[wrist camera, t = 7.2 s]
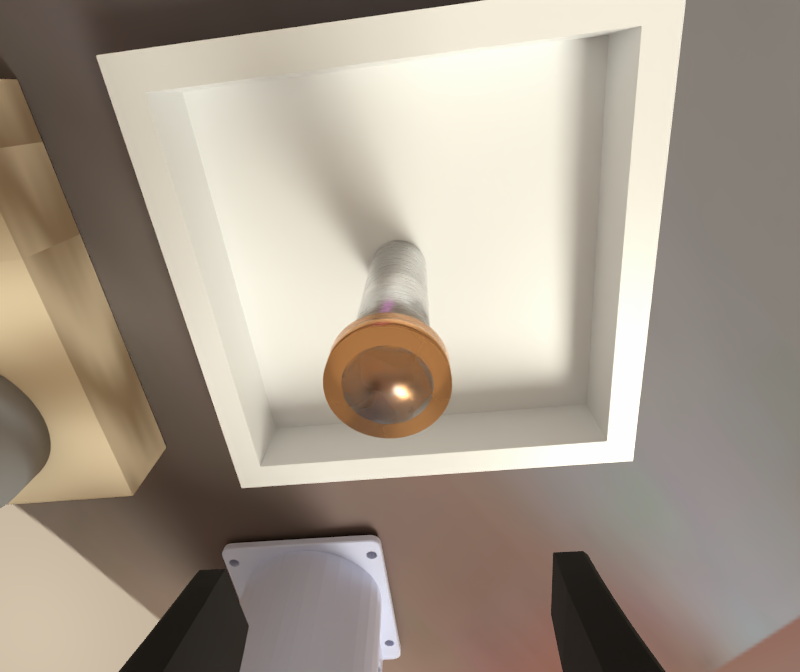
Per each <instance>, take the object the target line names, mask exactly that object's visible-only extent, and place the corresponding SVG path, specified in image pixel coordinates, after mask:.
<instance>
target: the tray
mask: <svg viewBox="0 0 800 672" xmlns="http://www.w3.org/2000/svg"><path fill="white" fill-rule="evenodd" d="M685 2H686V0H483V1H476V2H469V3H462V4H455V5H448V6H441V7H434V8H427V9H420V10H413V11H405V12H398V13H391V14H384V15H377V16H370V17H363V18H356V19H349V20H342V21H335V22H328V23H321V24H314V25H307V26H299V27H292V28H285V29H278V30H271V31H264V32H257V33H250V34H243V35H236V36H229V37H222V38H215V39H208V40H201V41H194V42H186V43H179V44H172V45H165V46H158V47H151V48H144V49H137V50H130V51H123V52H116V53H109V54H102V55H96V57H97V60H98V63H99V66H100V69H101V72H102V75H103V78H104V81H105V84H106V87H107V90H108V93H109V96H110V99H111V102H112V105H113V108H114V111H115V114H116V117H117V120H118V123H119V126H120V129H121V132H122V135H123V138H124V140H125V143H126V146H127V149H128V152H129V155H130V158H131V161H132V164H133V167H134V170H135V173H136V176H137V179H138V182H139V185H140V188H141V191H142V194H143V197H144V200H145V203H146V206H147V209H148V212H149V215H150V218H151V221H152V224H153V227H154V230H155V232H156V235H157V238H158V241H159V244H160V247H161V250H162V253H163V256H164V259H165V262H166V265H167V268H168V271H169V274H170V277H171V280H172V283H173V286H174V289H175V292H176V295H177V298H178V301H179V304H180V307H181V310H182V313H183V316H184V319H185V322H186V325H187V327H188V330H189V333H190V336H191V339H192V342H193V345H194V348H195V351H196V354H197V357H198V360H199V363H200V366H201V369H202V372H203V375H204V378H205V381H206V384H207V387H208V390H209V393H210V396H211V399H212V402H213V405H214V408H215V411H216V414H217V417H218V420H219V422H220V425H221V428H222V431H223V434H224V437H225V440H226V443H227V446H228V449H229V452H230V455H231V458H232V461H233V464H234V467H235V470H236V473H237V476H238V479H239V482H240V485H241V488H251V487H265V486H280V485H294V484H308V483H323V482H337V481H351V480H366V479H380V478H394V477H408V476H423V475H437V474H451V473H466V472H480V471H494V470H509V469H523V468H537V467H552V466H566V465H580V464H595V463H609V462H623V461H633V455H634V446H635V437H636V429H637V420H638V411H639V403H640V394H641V385H642V376H643V368H644V359H645V350H646V342H647V333H648V324H649V315H650V307H651V298H652V289H653V281H654V272H655V263H656V254H657V246H658V237H659V228H660V220H661V211H662V202H663V193H664V185H665V176H666V167H667V159H668V150H669V141H670V133H671V124H672V115H673V106H674V98H675V89H676V80H677V72H678V63H679V54H680V45H681V37H682V28H683V19H684V11H685ZM393 240H403V241H407V242H410V243H412V244H414V245H415V246H416V247H418V248H419V250H420V251H421V252H422V254H423V255H424V258H425V261H426V271H427V287H428V303H429V319H430V327H431V328H432V329H433V330H434V331H435V332H436V333H437V334H438V335H439V337H440V338H441V340H442V341H443V343H444V345H445V347H446V349H447V352H448V355H449V361H450V368H451V376H452V392H451V397H450V400H449V403H448V405H447V407H446V409H445V411H444V412H443V414H442V415H441V416H440V417H439V418H438V420H436V421H435V422H434V423H433V424H432V425H431V426H429V427H428V428H426V429H424V430H422V431H420V432H418V433H416V434H413V435H410V436H406V437H401V438H377V437H372V436H368V435H365V434H362V433H360V432H358V431H356V430H354V429H352V428H350V427H349V426H347V425H346V424H344V423H343V422H342V421H341V420H340V419H339V418H338V417H337V416H336V415H335V414H334V413H333V411H332V410H331V408H330V406H329V405H328V402H327V400H326V398H325V394H324V390H323V374H324V369H325V366H326V363H327V360H328V357H329V354H330V351H331V347H332V345H333V343H334V341H335V339H336V338H337V336H338V335H339V334H340V333H341V332H342V330H343V329H344V328H346V327H347V326H348V325H349V324H351V323H352V322H354V321H356V319H357V315H358V311H359V307H360V303H361V299H362V295H363V291H364V287H365V284H366V280H367V276H368V272H369V268H370V264H371V260H372V257H373V255H374V253H375V251H376V250H377V249H378V248H379V247H380V246H381V245H383V244H384V243H387V242H389V241H393Z"/></svg>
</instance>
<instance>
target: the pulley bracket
mask: <svg viewBox="0 0 800 672" xmlns="http://www.w3.org/2000/svg"><path fill="white" fill-rule="evenodd" d="M165 449H166V445H165V443H164V440H163V438H162V435H161V433H160V430H159V428H158V425H157V423H156V421H155V418H154V416H153V413H152V411H151V408H150V406H149V403H148V401H147V398H146V396H145V393H144V391H143V388H142V386H141V384H140V381H139V379H138V376H137V374H136V371H135V369H134V366H133V364H132V361H131V359H130V356H129V354H128V351H127V349H126V346H125V344H124V342H123V339H122V337H121V334H120V332H119V329H118V327H117V324H116V322H115V319H114V317H113V314H112V312H111V309H110V307H109V305H108V302H107V300H106V297H105V295H104V292H103V290H102V287H101V285H100V282H99V280H98V277H97V275H96V272H95V270H94V268H93V265H92V263H91V260H90V258H89V255H88V253H87V250H86V248H85V245H84V243H83V240H82V238H81V235H80V233H79V231H78V228H77V226H76V223H75V221H74V218H73V216H72V213H71V211H70V208H69V206H68V203H67V201H66V198H65V196H64V193H63V191H62V189H61V186H60V184H59V181H58V179H57V176H56V174H55V171H54V169H53V166H52V164H51V161H50V159H49V156H48V154H47V152H46V149H45V147H44V144H43V142H42V139H41V137H40V134H39V132H38V129H37V127H36V124H35V122H34V119H33V117H32V115H31V112H30V110H29V107H28V105H27V102H26V100H25V97H24V95H23V92H22V90H21V87H20V85H19V82H18V80H17V79H0V508H1V507H3V506H5V505H7V504H22V503H36V502H51V501H65V500H79V499H94V498H108V497H122V496H133V495H134V494H135V492H136V491H137V489H138V488H139V486H140V485H141V483H142V482H143V481H144V479H145V478H146V476H147V475H148V473H149V472H150V471H151V469H152V468H153V466H154V465H155V463H156V462H157V460H158V459H159V458H160V456H161V455H162V453H163V452H164V450H165Z"/></svg>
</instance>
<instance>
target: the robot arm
mask: <svg viewBox="0 0 800 672" xmlns="http://www.w3.org/2000/svg"><path fill="white" fill-rule="evenodd" d="M370 551H372V552H370ZM222 556H223V559H224V562H225V564H226V567H227V569H228V572H229V574H230V577H231V580H232V582H233V585H234V587H235V590H236V592H237V595H238V597H239V600H240V602H239V600H238V598H237V596H236V593H235V591H234V588H233V586H232V583H231V581H230V579H229V576H228V574H227V571H226V569H215V570H199V572H198V573H197V574H196V575H195V576H194V577H193V579H192V580H191V581H190V582H189V584H188V585H187V586H186V588H185V589H184V590H183V591H182V593H181V594H180V595H179V597H178V598H177V599H176V600H175V602H174V603H173V604H172V606H171V607H170V608H169V609H168V611H167V612H166V613H165V615H164V616H163V617H162V618H161V620H160V621H159V622H158V623H157V625H156V626H155V627H154V629H153V630H152V631H151V632H150V634H149V635H148V636H147V637H146V639H145V640H144V641H143V643H142V644H141V645H140V646H139V647H138V649H137V650H136V651H135V652H134V654H133V655H132V656H131V657H130V658H129V660H128V661H127V662H126V664H125V665H124V666H123V667H122V668H121V670H120V671H119V672H382V663H383V659H396V658H398V657H399V656H400V649H401V647H400V642H399V637H398V631H397V626H396V621H395V615H394V610H393V605H392V599H391V594H390V588H389V583H388V578H387V572H386V567H385V562H384V556H383V551H382V546H381V541H380V539H379V538H378V537H377V536H374V535H359V536H343V537H326V538H310V539H294V540H277V541H261V542H245V543H231V544H227V545H226V546H225V547H224V550H223V552H222ZM551 616H552V621H553V626H554V631H555V636H556V641H557V646H558V651H559V655H560V660H561V665H562V669H563V672H665V670H664V669H663V668H662V666H661V665H660V664H659V662H658V661H657V659H656V658H655V657H654V655H653V654H652V653H651V651H650V650H649V648H648V647H647V646H646V644H645V643H644V641H643V640H642V639H641V637H640V636H639V635H638V633H637V632H636V630H635V629H634V627H633V626H632V625H631V623H630V622H629V620H628V619H627V617H626V616H625V614H624V613H623V611H622V610H621V608H620V607H619V605H618V604H617V602H616V601H615V599H614V598H613V596H612V594H611V593H610V591H609V590H608V588H607V587H606V585H605V583H604V582H603V580H602V579H601V577H600V575H599V574H598V572H597V570H596V568H595V567H594V565H593V563H592V562H591V560H590V558H589V556H588V555H587V554H586V553H585V552H583V551H578V552H557V553H553V576H552V604H551Z"/></svg>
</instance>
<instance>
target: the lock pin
mask: <svg viewBox="0 0 800 672" xmlns="http://www.w3.org/2000/svg"><path fill="white" fill-rule="evenodd" d="M323 390H324V394H325V398H326V400H327V402H328V405H329V406H330V408H331V410H332V411H333V413H334V414H335V415H336V416H337V417H338V418H339V419H340V420H341V421H342V422H343V423H344V424H346V425H347V426H349V427H350V428H352V429H354V430H356V431H358V432H360V433H362V434H365V435H368V436H372V437H377V438H401V437H406V436H410V435H413V434H416V433H418V432H420V431H422V430H424V429H426V428H428V427H429V426H431V425H432V424H433V423H434V422H435V421H436V420H438V418H439V417H440V416H441V415H442V414H443V412H444V411H445V409H446V407H447V405H448V403H449V400H450V397H451V392H452V376H451V368H450V361H449V355H448V352H447V349H446V347H445V345H444V343H443V341H442V340H441V338H440V337H439V335H438V334H437V333H436V332H435V331H434V330H433V329H432V328H431V327H430V319H429V303H428V287H427V271H426V261H425V258H424V255H423V254H422V252H421V251H420V250H419V248H418V247H416V246H415V245H414V244H412V243H410V242H407V241H403V240H393V241H389V242H387V243H384V244H383V245H381V246H380V247H379V248H378V249H377V250H376V251H375V253H374V255H373V257H372V260H371V264H370V268H369V272H368V276H367V280H366V284H365V287H364V291H363V295H362V299H361V303H360V307H359V311H358V315H357V319H356V321H354V322H352V323H351V324H349V325H348V326H347V327H346V328H344V329H343V330H342V332H341V333H340V334H339V335H338V336H337V338H336V339H335V341H334V343H333V345H332V347H331V351H330V354H329V357H328V360H327V363H326V366H325V369H324V374H323Z"/></svg>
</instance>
